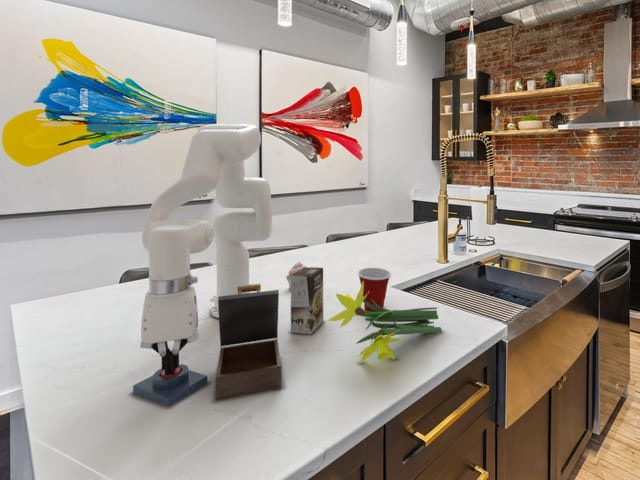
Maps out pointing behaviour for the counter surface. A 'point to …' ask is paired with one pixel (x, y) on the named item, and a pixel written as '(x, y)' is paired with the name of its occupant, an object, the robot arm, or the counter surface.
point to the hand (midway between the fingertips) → (170, 371)
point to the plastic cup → (374, 286)
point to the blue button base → (170, 386)
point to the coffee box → (306, 300)
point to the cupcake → (293, 270)
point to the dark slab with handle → (248, 315)
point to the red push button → (171, 374)
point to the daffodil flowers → (385, 315)
